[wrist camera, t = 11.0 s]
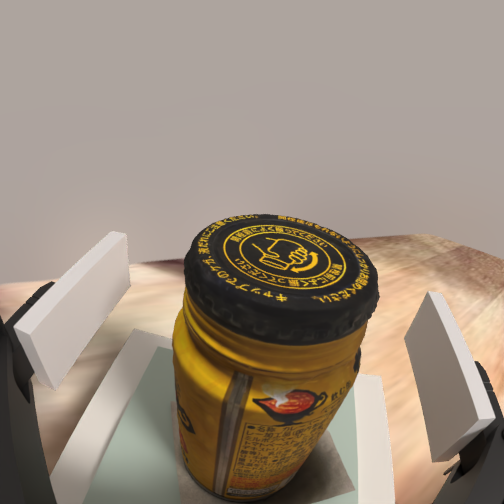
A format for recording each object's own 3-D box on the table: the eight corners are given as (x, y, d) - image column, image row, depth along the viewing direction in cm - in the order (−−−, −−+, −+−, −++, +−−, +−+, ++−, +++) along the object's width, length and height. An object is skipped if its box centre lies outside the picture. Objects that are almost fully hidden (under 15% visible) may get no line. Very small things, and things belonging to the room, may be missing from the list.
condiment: (170, 403, 16) (161, 196, 10) (311, 390, 18) (378, 207, 12) (183, 523, 10) (148, 378, 4) (353, 492, 12) (504, 323, 6)
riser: (61, 524, 11) (29, 505, 8) (140, 363, 24) (133, 322, 21) (362, 584, 9) (401, 579, 7) (361, 406, 22) (384, 370, 20)
